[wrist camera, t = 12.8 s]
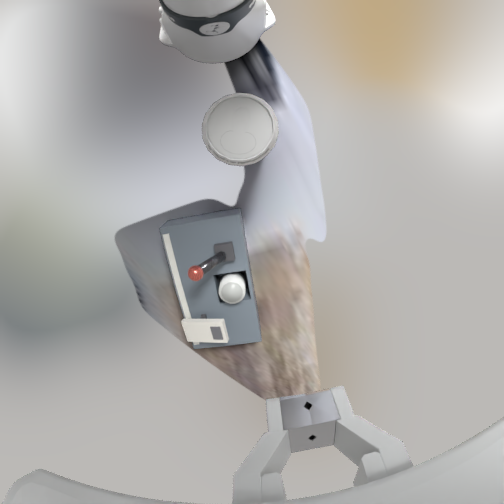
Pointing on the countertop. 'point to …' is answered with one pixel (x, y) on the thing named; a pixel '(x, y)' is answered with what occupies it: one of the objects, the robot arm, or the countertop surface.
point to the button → (232, 287)
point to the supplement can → (240, 129)
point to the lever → (205, 266)
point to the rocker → (205, 330)
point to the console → (212, 272)
